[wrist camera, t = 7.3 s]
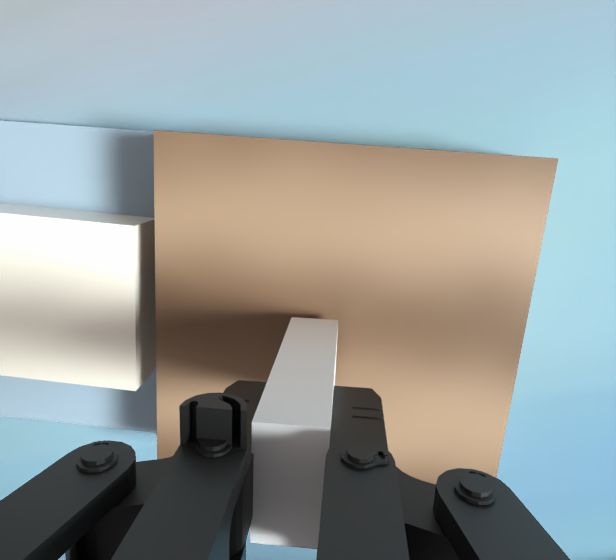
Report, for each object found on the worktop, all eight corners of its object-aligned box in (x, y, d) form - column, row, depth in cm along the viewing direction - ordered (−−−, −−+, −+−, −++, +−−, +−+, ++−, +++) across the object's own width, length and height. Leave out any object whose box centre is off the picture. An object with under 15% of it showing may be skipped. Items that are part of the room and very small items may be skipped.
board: (470, 457, 20) (490, 508, 17) (184, 427, 21) (157, 471, 18) (522, 157, 17) (558, 158, 14) (185, 133, 18) (153, 130, 15)
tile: (156, 367, 20) (135, 391, 18) (12, 351, 20) (-24, 372, 18) (157, 218, 18) (134, 226, 16) (1, 202, 18) (-40, 208, 16)
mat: (184, 427, 21) (179, 435, 20) (-62, 401, 22) (-74, 408, 21) (185, 133, 18) (179, 132, 17) (-102, 113, 18) (-117, 112, 18)
